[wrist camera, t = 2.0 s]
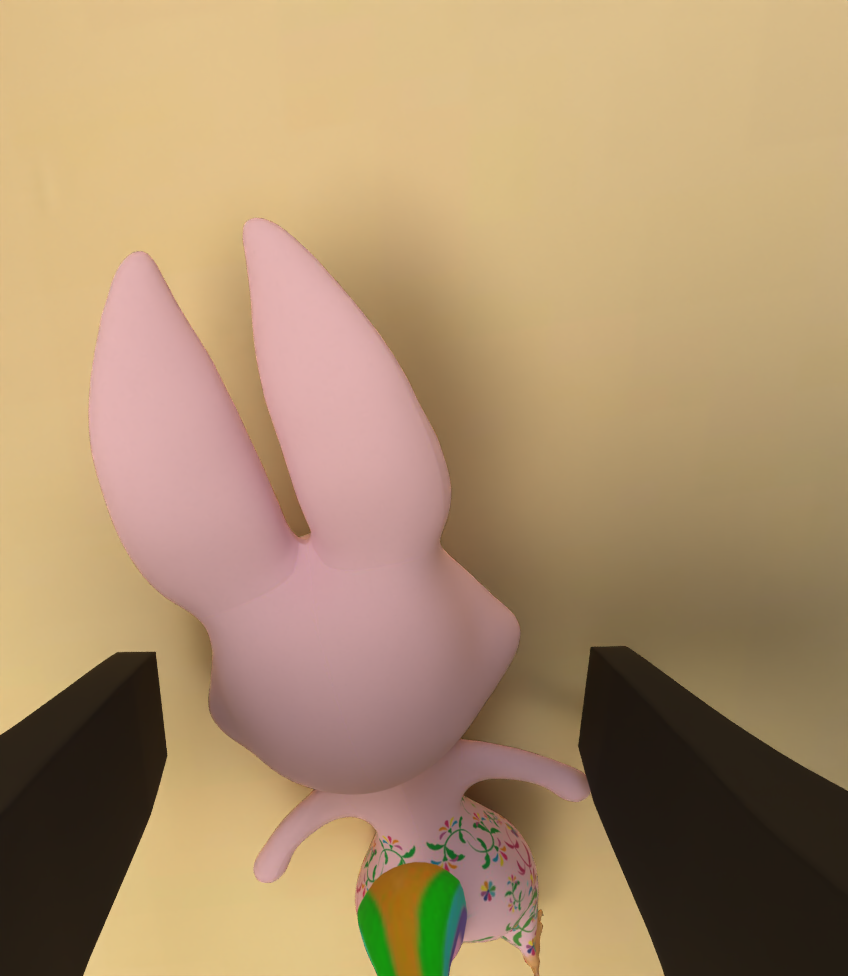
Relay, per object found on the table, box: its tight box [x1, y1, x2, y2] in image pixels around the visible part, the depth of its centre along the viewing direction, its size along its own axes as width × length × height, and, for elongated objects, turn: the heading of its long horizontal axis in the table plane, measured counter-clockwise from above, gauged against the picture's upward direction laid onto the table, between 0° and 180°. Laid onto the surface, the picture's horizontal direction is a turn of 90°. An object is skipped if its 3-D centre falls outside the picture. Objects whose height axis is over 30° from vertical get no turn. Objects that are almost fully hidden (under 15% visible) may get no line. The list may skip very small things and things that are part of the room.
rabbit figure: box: [89, 218, 591, 976], centre depth 10 cm, size 6×6×15 cm
